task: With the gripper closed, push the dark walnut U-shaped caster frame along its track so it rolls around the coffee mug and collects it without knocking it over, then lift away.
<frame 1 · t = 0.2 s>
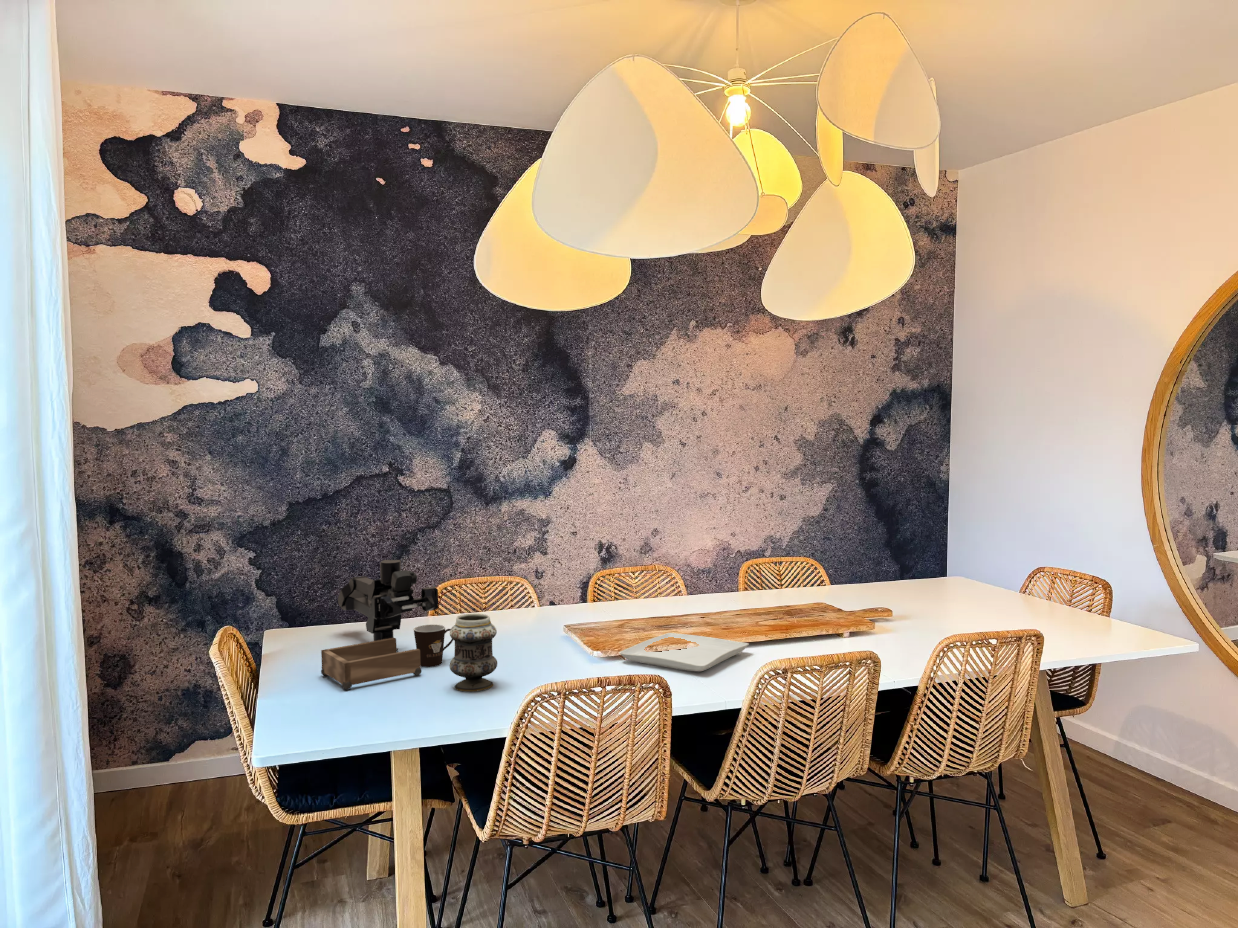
hand: (418, 608, 249), 17 cm above the table, tool horizontal, fingers open, 9 cm apart
coffee mug: (436, 663, 257), on the table
apothecary jar: (474, 687, 235), on the table
square plate: (685, 660, 258), on the table
caster frame: (370, 662, 245), point 4 cm above the table, slide at 0.0 cm
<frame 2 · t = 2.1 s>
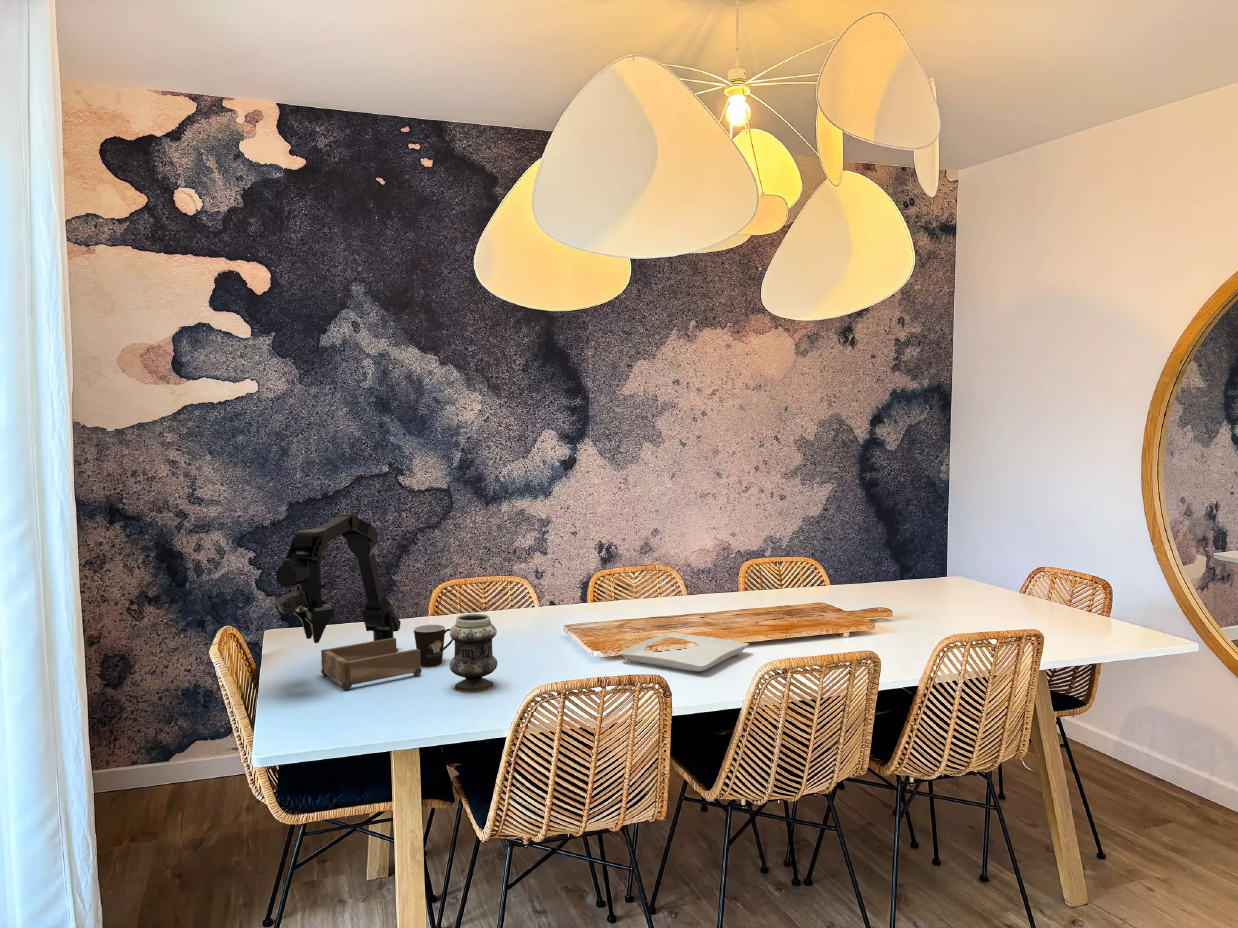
hand: (312, 640, 236), 12 cm above the table, tool pointing down, fingers open, 5 cm apart
nothing on the table moved.
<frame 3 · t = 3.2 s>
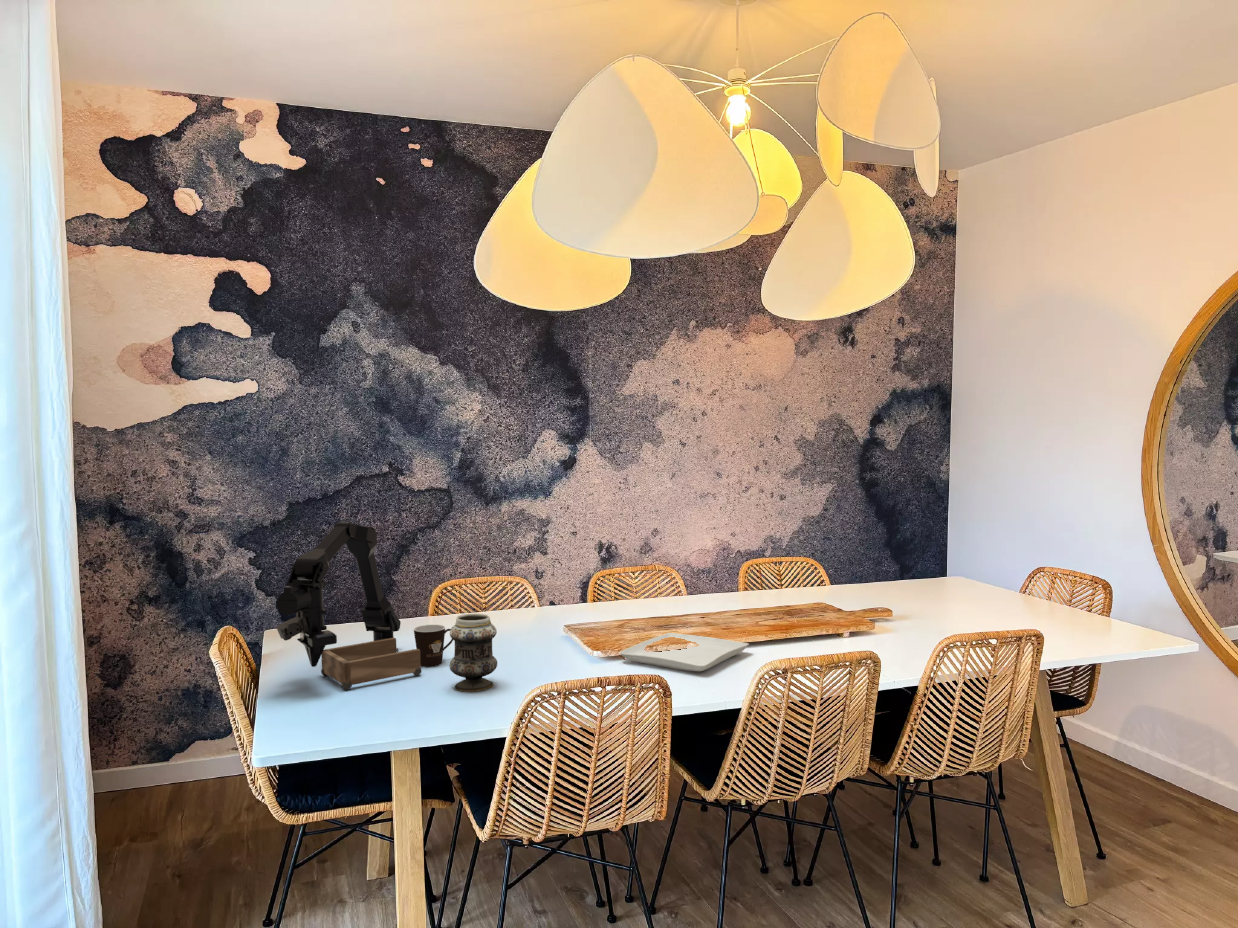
hand: (313, 666, 236), 5 cm above the table, tool pointing down, fingers closed
nothing on the table moved.
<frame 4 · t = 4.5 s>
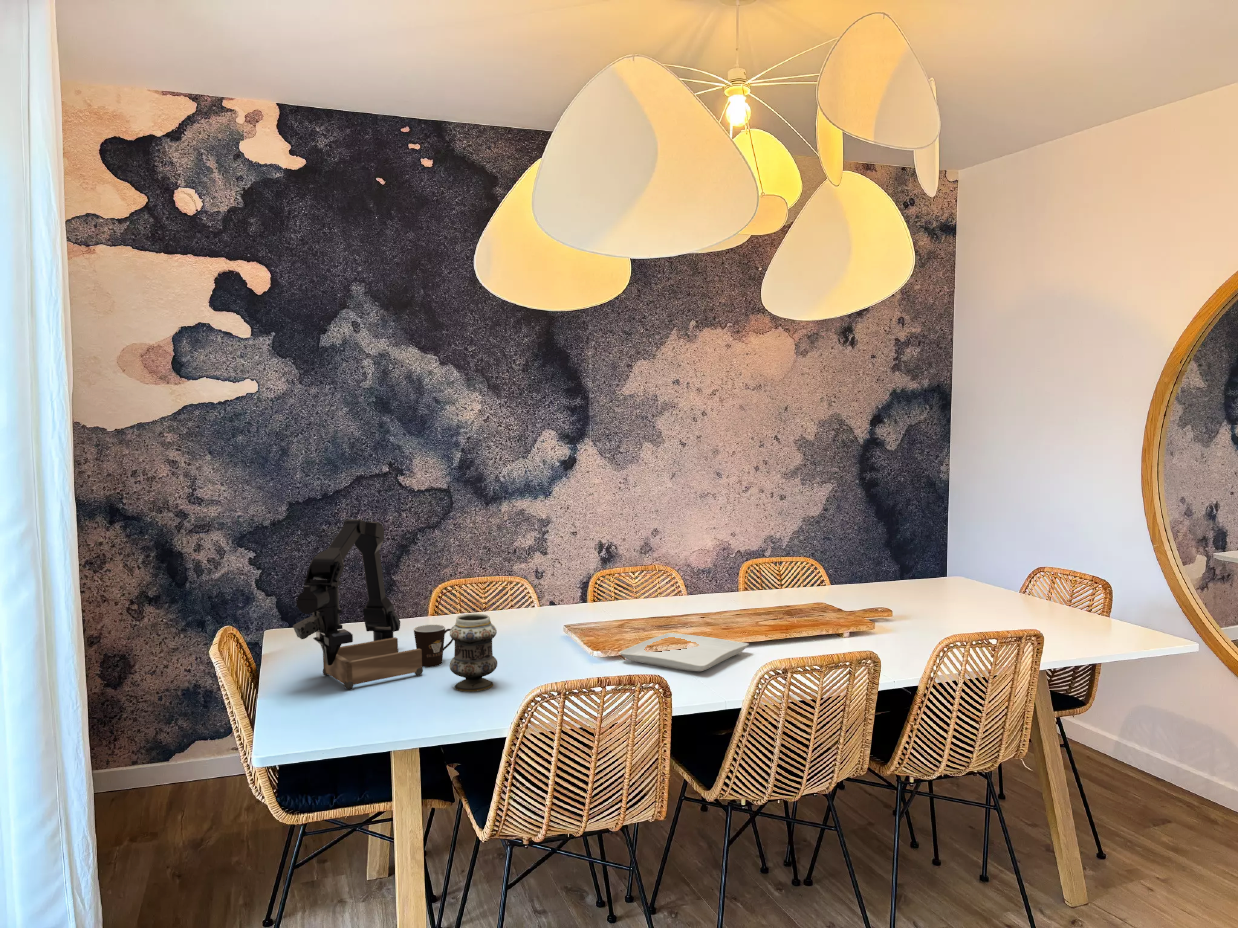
hand: (329, 664, 239), 5 cm above the table, tool pointing down, fingers closed, pressing on caster frame
caster frame: (372, 662, 246), point 4 cm above the table, slide at 0.4 cm, touching gripper
everything else where it was.
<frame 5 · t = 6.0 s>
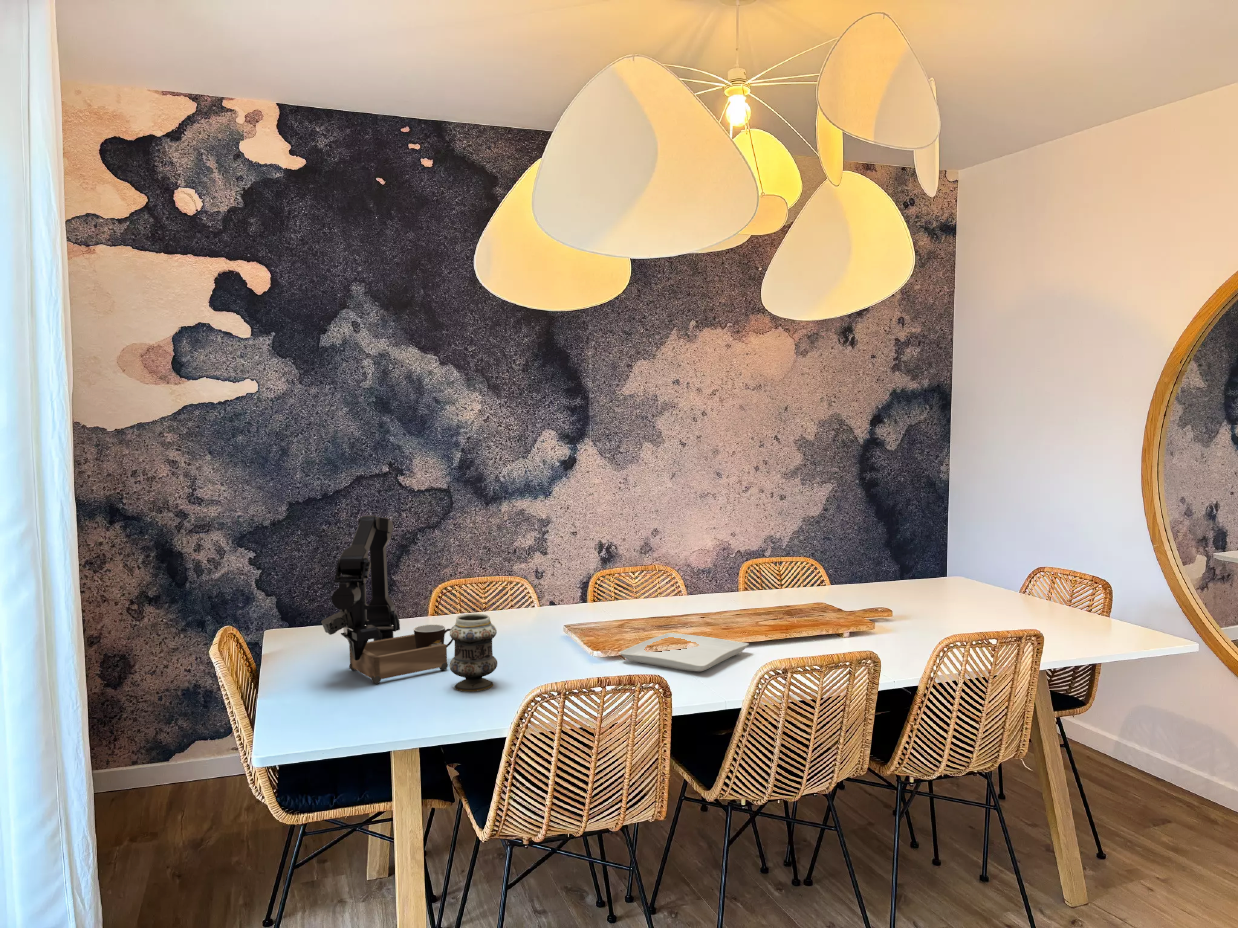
hand: (356, 659, 243), 5 cm above the table, tool pointing down, fingers closed, pressing on caster frame
caster frame: (398, 657, 250), point 4 cm above the table, slide at 7.7 cm, touching gripper
everything else where it was.
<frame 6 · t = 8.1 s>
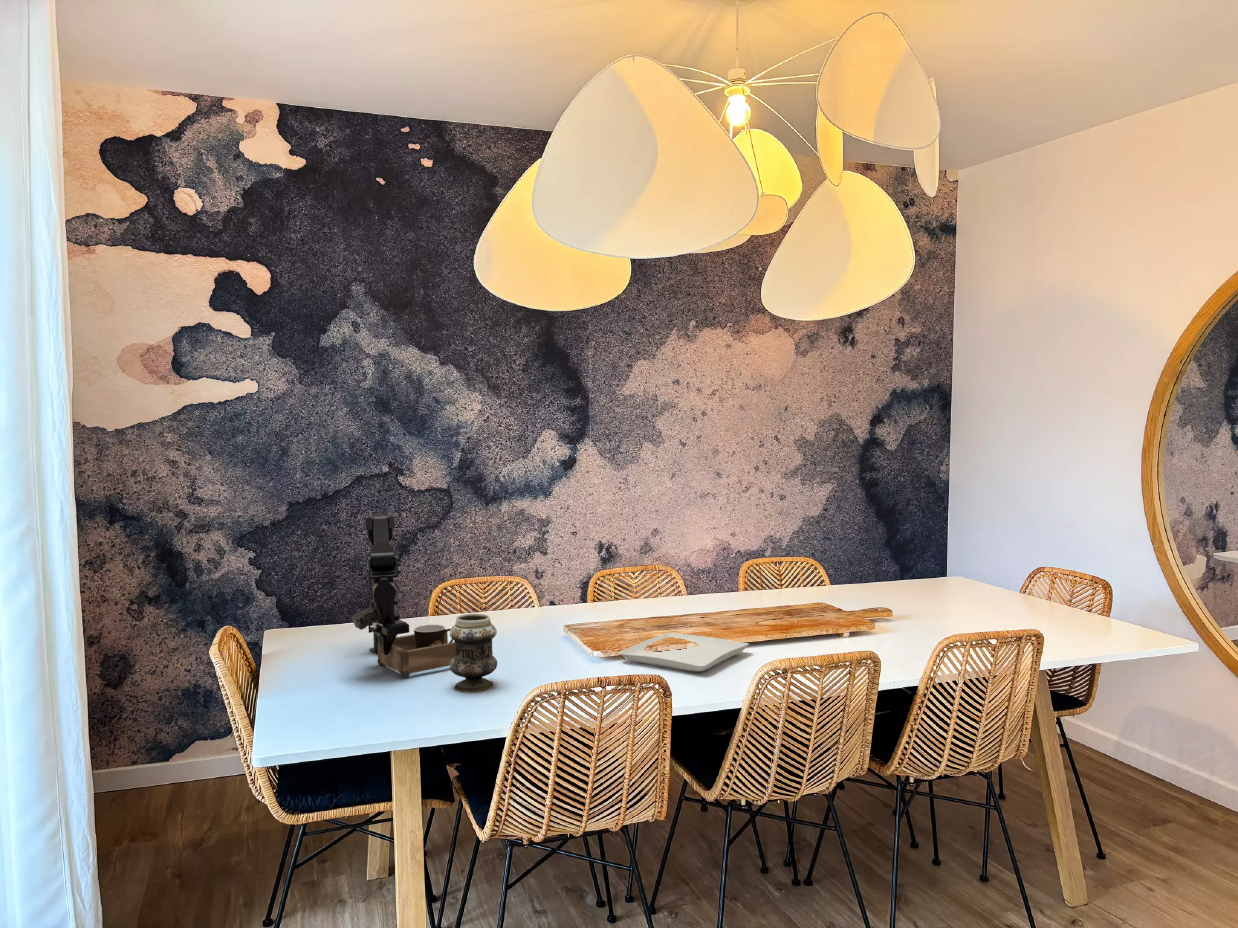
hand: (385, 654, 248), 5 cm above the table, tool pointing down, fingers closed, pressing on caster frame
caster frame: (425, 652, 255), point 4 cm above the table, slide at 15.7 cm, touching gripper
everything else where it was.
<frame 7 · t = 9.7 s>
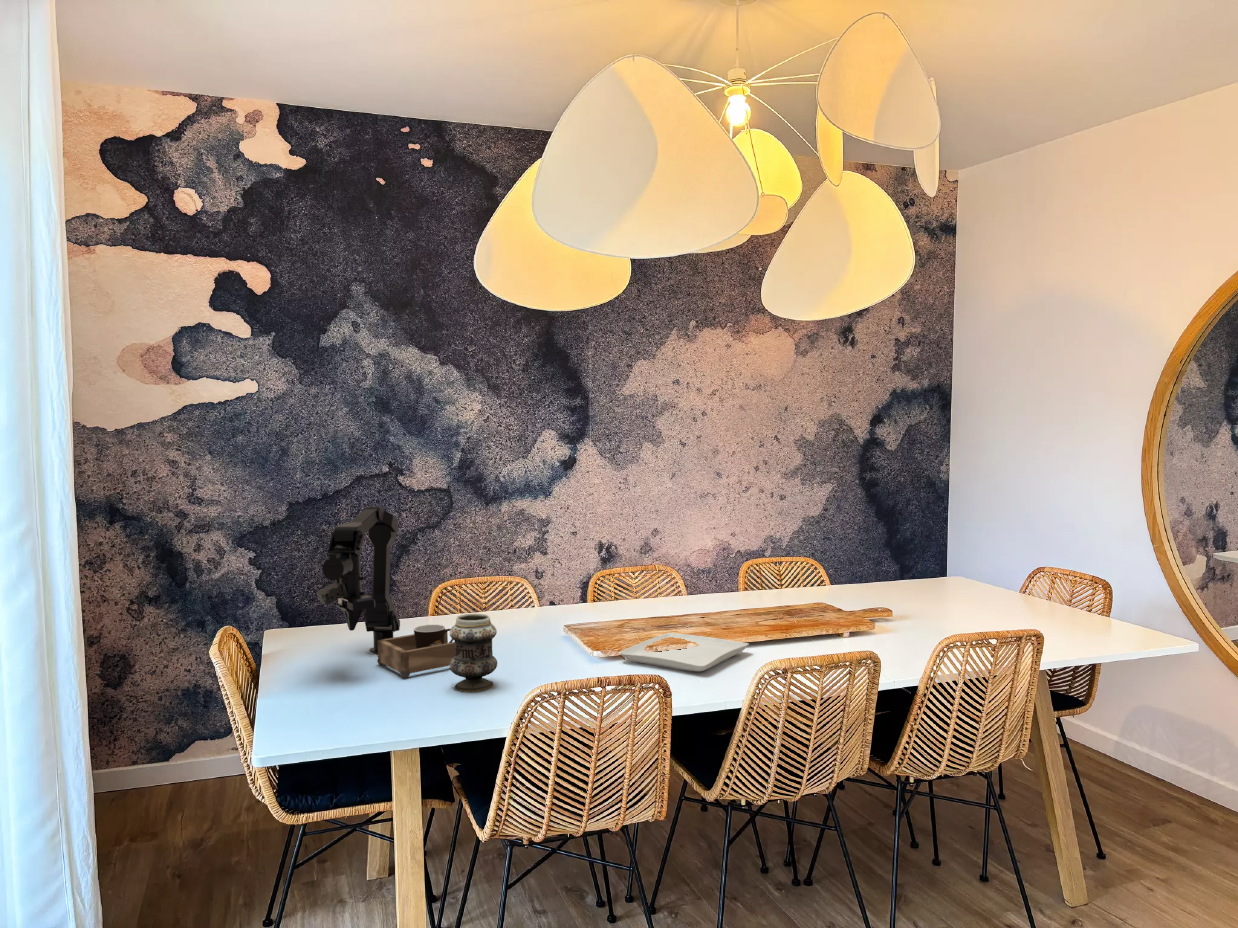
hand: (351, 630, 247), 12 cm above the table, tool pointing down, fingers closed
caster frame: (425, 652, 255), point 4 cm above the table, slide at 15.7 cm
everything else where it was.
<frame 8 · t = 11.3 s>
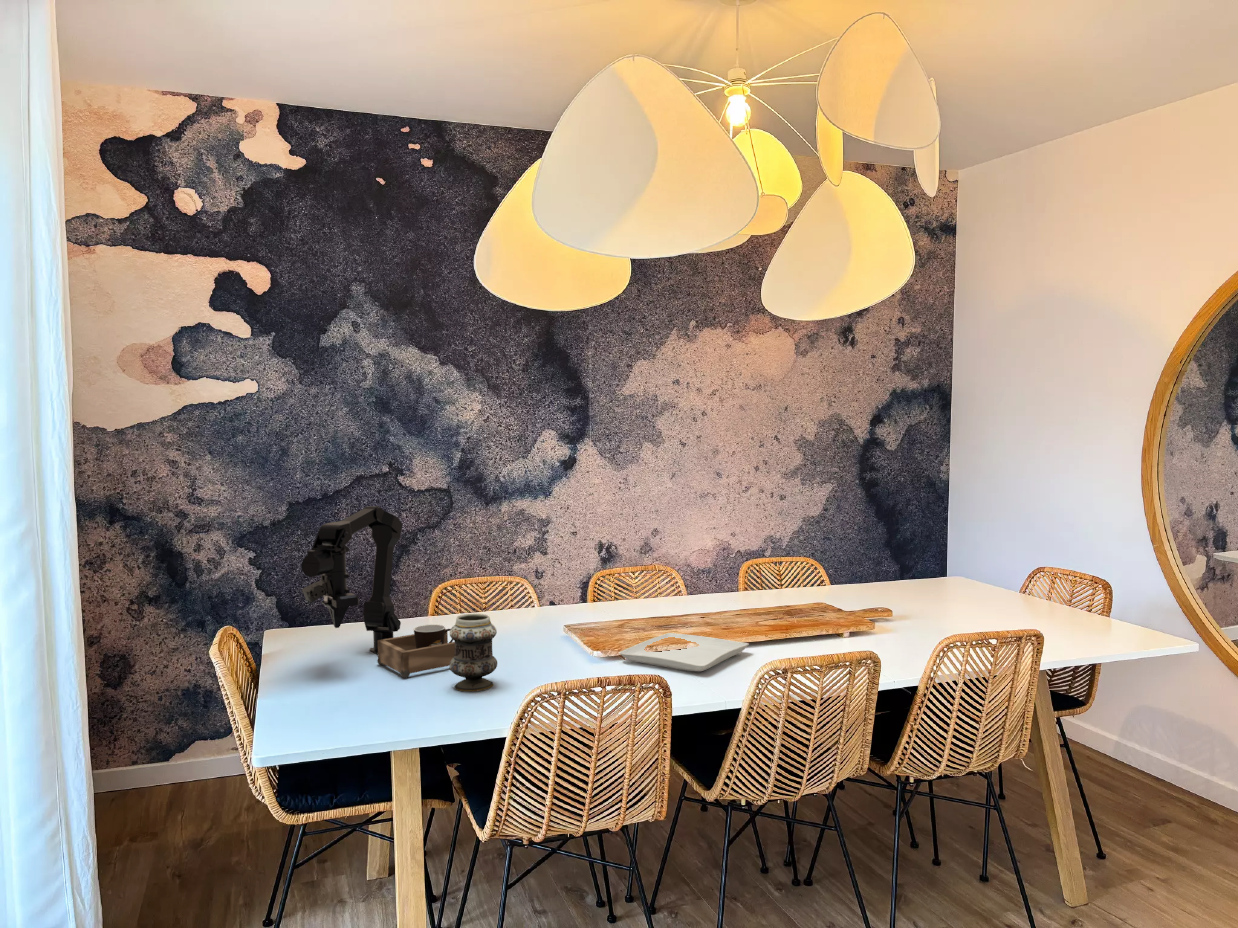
hand: (336, 627, 250), 12 cm above the table, tool pointing down, fingers closed
nothing on the table moved.
at the end: caster frame slide at 15.7 cm; coffee mug tilted 0°; coffee mug moved 0.2 cm from its start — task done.
